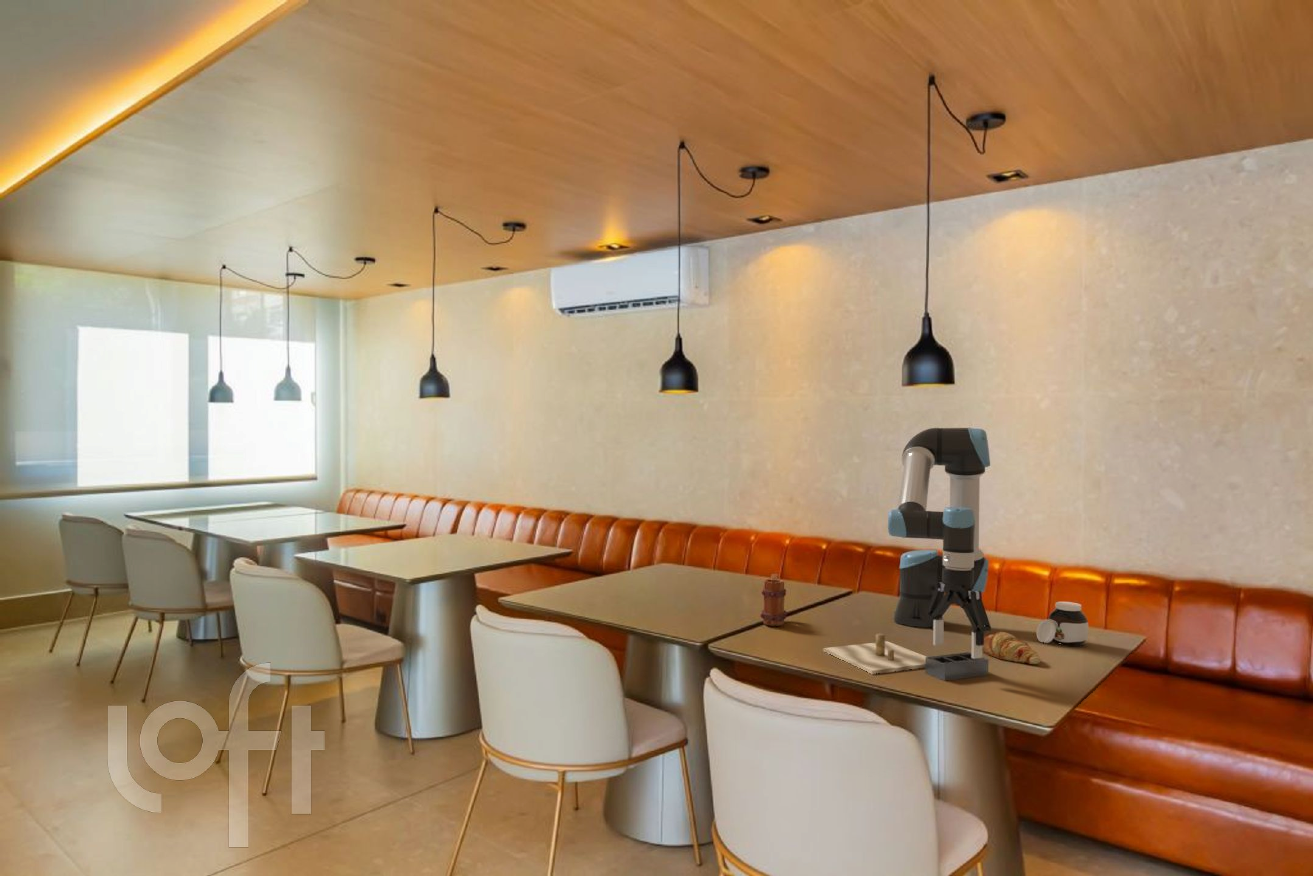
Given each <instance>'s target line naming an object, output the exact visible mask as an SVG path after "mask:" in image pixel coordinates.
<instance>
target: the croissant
mask: <svg viewBox="0 0 1313 876" xmlns="http://www.w3.org/2000/svg"><path fill="white" fill-rule="evenodd" d="M984 652H985V654H986V655H987V656H990V655H991V656H990V657H992V656H993V658H996V659H999V660H1004V661H1009V662H1015V663H1022V664H1024V663H1026V664H1029V665H1037V664H1040V663H1041V657H1040V655H1039V654H1038V653H1037V651H1035V650H1034V649H1032V648H1031V646H1030V645H1029V644H1028V642H1026V641H1025V642H1024V641H1021V640H1019V638H1018V637H1017V636H1014V635H1013V634H1010V633H1009V632H1004V631H1001V630H1000V631H998V632H995V634H994V633H992V634H989V635H987V636H985V635H984V645H982V653H984Z"/></svg>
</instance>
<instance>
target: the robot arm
mask: <svg viewBox="0 0 1313 876" xmlns="http://www.w3.org/2000/svg"><path fill="white" fill-rule="evenodd" d="M901 455H902V456H901V463H902V465H903V472H902V478H901V486H900V491H899V492H900V493H899V498H898V505H897V508H896V509H890V510H889V512H888V515H887V516H888V517H887V531H888V534H889V536H890V537H891V536H892V537H898V538H902V539H906V538H907V539H928V540H929V539H930V540H942V555H939V552H938V550H935V549H932V550H931V549H920V550H911V551H907V552H904V553H902V554H901V556H900V563H899V567H898V568H899V598H898V601H897V604H896V608H895V611H894V613H893V621H894V622H895V621H896V622H895V623H897V624H899V623H900V625H902V624H905V625H904V626H906V625H908V626H907V627H913V626H919V627H918V628H931V629H932V640H933V641H932V642H933V643H932V645H933V646H942V645H944V632H945V631H944V628H945V627H944V621H945V620H944V617H943V616H944V615H945V613H946V612H947V610H948V609H949V608H950V607H951V606H952V604H954V605H956V606H959V607H960V608H961V609H963V611H964V613H965V615H966V617H967V618H968V621H969V623H970V624H971V627H972V629H973V630H972V631H971V650H970V651H971V652H970V653H971V658H973V659H976V658H982V657H983V652H982V645H984V636H985V632H990V631H992V627H991V624H990V623H991V622H990V620H989V618H988V614H987V612H986V608H985V605H984V602H983V599H982V598H983V596H982V595H983V593H985V590H986V585H987V582H988V581H987V580H988V574H989V572H988V571H989V566H990V564H989V562H990V561H989V560H990V559H988V558H987V557H985V554H984V551H983V550H982V549H980V488H981V487H980V486H981V485H980V484H981V483H980V482H981V481H980V477H981V476H983V475H984V474H985V472H986V468H989V467H990V466H991V459H990V450H989V440H988V436H987V432H986V430H985V429H983V428H972V427H933V428H932V427H931V428H927V429H923V430H922V431H920V432H918V433H917V434H916V435H914V436H913V437H912V438H911V439H909V440H908V442H907V444H906V445H905V446H904V448H903V451H902V454H901ZM934 466H941V467H942V466H944V472H945V474H947V475H948V476H949V507H945V508H944V509H943V511H937V510H936V511H933V510H927V505H928V497H929V485H930V478H931V477H930V476H931V470H932V469H933V468H934Z"/></svg>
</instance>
